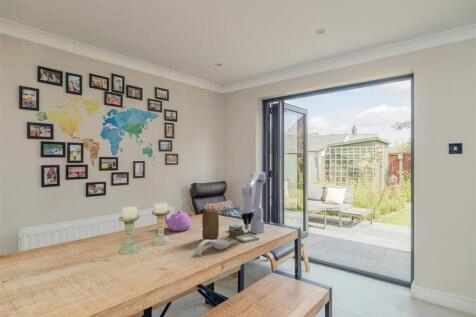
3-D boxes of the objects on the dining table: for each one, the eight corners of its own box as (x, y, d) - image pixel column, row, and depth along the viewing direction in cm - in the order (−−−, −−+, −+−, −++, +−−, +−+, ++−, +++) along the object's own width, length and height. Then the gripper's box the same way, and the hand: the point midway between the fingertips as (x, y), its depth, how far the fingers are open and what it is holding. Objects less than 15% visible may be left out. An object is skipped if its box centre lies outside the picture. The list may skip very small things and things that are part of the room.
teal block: (235, 229, 201) (235, 223, 201) (242, 231, 196) (242, 225, 196) (228, 230, 196) (229, 225, 196) (235, 233, 191) (235, 227, 191)
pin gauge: (246, 228, 180) (246, 216, 180) (249, 229, 178) (249, 217, 178) (244, 229, 178) (244, 217, 178) (246, 229, 176) (246, 217, 176)
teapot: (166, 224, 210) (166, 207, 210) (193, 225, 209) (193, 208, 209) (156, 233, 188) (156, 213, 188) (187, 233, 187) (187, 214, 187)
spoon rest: (220, 243, 169) (220, 232, 169) (234, 248, 161) (234, 236, 161) (191, 253, 151) (191, 240, 151) (205, 259, 143) (205, 245, 143)
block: (219, 241, 173) (220, 210, 172) (210, 243, 167) (211, 211, 167) (209, 237, 180) (209, 207, 180) (200, 239, 175) (200, 209, 175)
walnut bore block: (237, 233, 189) (237, 228, 189) (243, 236, 183) (244, 230, 183) (229, 235, 185) (229, 229, 185) (235, 238, 179) (235, 232, 179)
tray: (250, 235, 185) (250, 233, 185) (258, 239, 178) (258, 237, 178) (235, 238, 178) (235, 236, 178) (244, 242, 170) (244, 240, 170)
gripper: (251, 202, 185) (251, 221, 185) (235, 204, 176) (234, 224, 176) (258, 203, 180) (258, 223, 180) (242, 205, 171) (241, 226, 171)
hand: (247, 224), depth 178 cm, fingers closed on pin gauge, 2 cm apart
